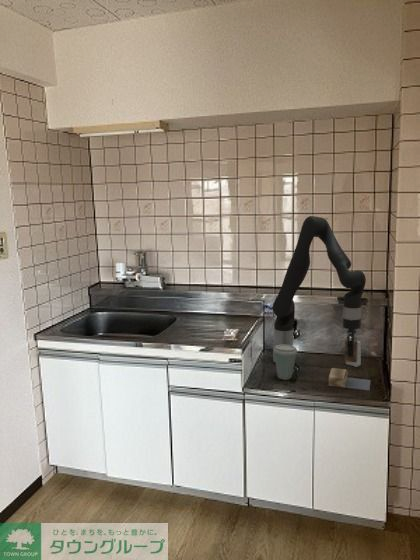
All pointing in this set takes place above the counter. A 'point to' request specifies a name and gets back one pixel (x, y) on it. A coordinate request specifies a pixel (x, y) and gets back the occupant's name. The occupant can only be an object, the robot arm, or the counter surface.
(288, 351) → the disposable coffee cup
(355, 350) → the walnut block
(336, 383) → the beech step
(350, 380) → the rubber mat
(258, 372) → the counter surface
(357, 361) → the skincare box
